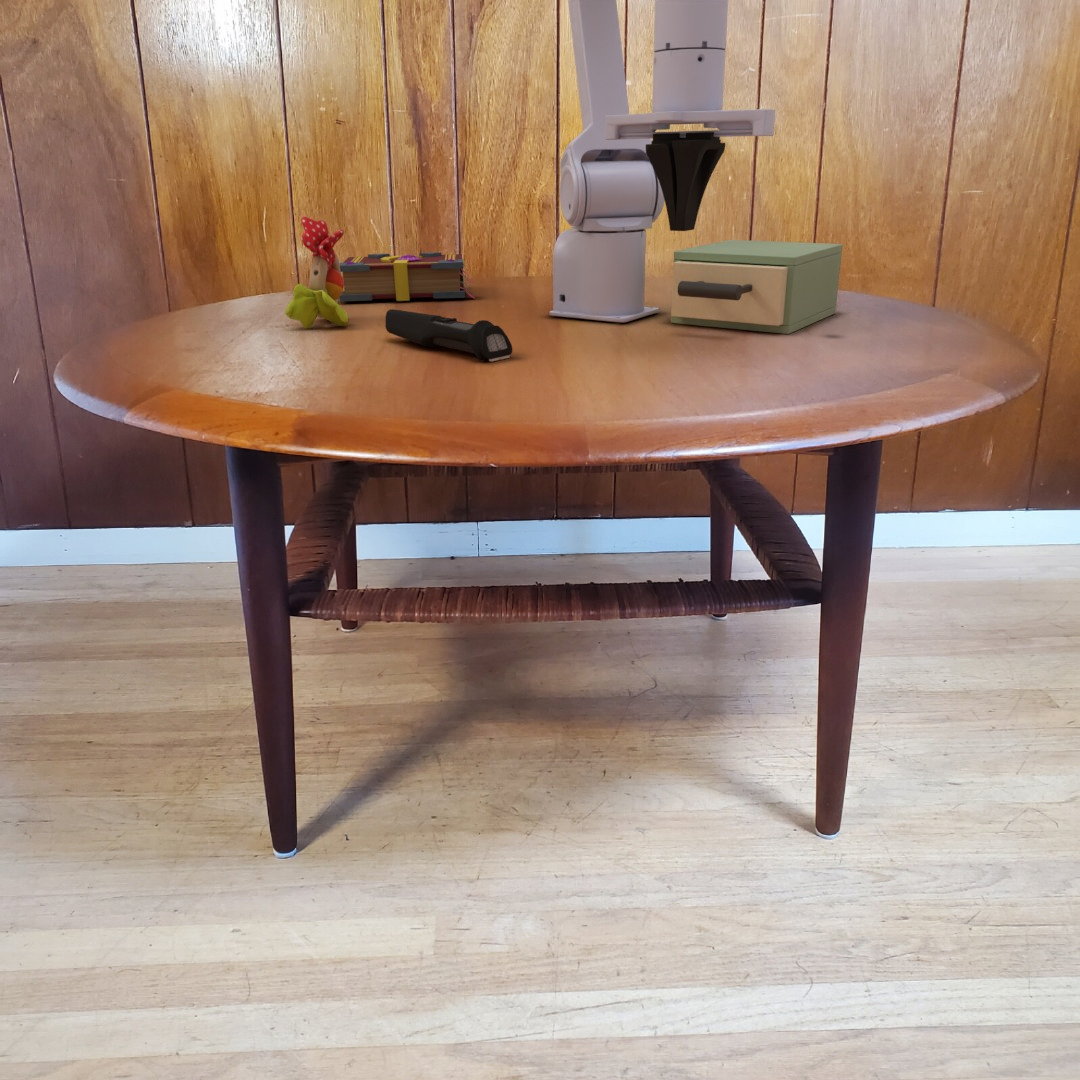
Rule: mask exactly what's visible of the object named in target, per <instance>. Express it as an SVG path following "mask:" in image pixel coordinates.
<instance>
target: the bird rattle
mask: <svg viewBox="0 0 1080 1080" xmlns="http://www.w3.org/2000/svg"><path fill="white" fill-rule="evenodd" d="M300 222H301V224H302V228H303V231H304V232H303V234H302V235H301V236H300V240H301V242H302V245H303V246H304V247H305V248H307V250H309V252H311V253H312V255H311V265H310V270H309V271H310V272H309V277H308V279H309V280H308V287H307V286H305V285H304V284H302V283H298V284H297V285H295V286H294V288H293V290H292V291H293V292H292V299H291V301H290V302H289V303H288V305H286V308H285V310H284V314H285V315H286V317H288V318H289V319H291V320H293V321H300V323H301V325H302V327H303V328H304V329H309V328H311V327H312V326H313V324H314V323H315V322H316V321H315V320H316V319H317V318H320V319H323V320H326V321H329V322H331V323H333V324H335V325H336V326H339V327H345V326H347V325H348V323H349V314H348V313H347V311H346V310H345V309H344V308H343V307H342V306H341V305H340V304H338V303H339V300H340V296H341V294H342V292H343V291H344V281H343V275H342V272H340V264H339V263H340V260H339V257H338V254H337V252H336V251H335V249H334V248H335V245H336V244H337V243H338V242H339V241H340V240H341V239H342V237H343V236H344V234H345V231H344V230H343V229H341V228H340V229H337V231H335V232H334V233H332V234H331V235H330V232H329V228H328V224H327V222H326V221H325V220H322V219H321V220H315V219H312V218H309V217H307V216H302V217H301V219H300Z"/></svg>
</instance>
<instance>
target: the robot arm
mask: <svg viewBox="0 0 1080 1080" xmlns="http://www.w3.org/2000/svg"><path fill="white" fill-rule="evenodd" d="M567 3H568V12H569V21H570V29H571V38H572V46H573V47H572V48H573V56H574V57H573V58H574V65H575V74H576V81H577V89H578V100H579V107H580V116H581V117H580V118H581V122H582V131H581V132H580V133H579V134H578V135H577V136H576V137H575V138H573V139H572V140H571V141H570V142H569V143H568V144H567V146H566V147H565V149H564V150H563V152H562V155H561V158H560V161H559V171H560V182H559V183H560V184H559V200H560V201H559V202H560V209H561V213H562V216H563V218H564V220H565V221H566V222H567V224H568V225H569V226H570V227H571V228H568V229H565V230H563V231H562V232H560V234H559V235H558V237H557V239H556V241H555V244H554V247H553V251H552V252H553V253H552V296H553V297H552V301H553V302H552V306H553V310H550V311H549V316H551V317H561V318H572V319H579V320H580V319H582V320H590V321H591V320H593V321H601V322H602V321H603V322H610V323H611V322H612V323H628V322H632V321H634V320H637V319H640V318H644V317H647V316H651V315H653V314H657V313H660V308H659V307H654V306H645V292H646V291H645V287H646V254H647V253H646V250H647V248H646V247H647V229H651V230H652V229H653V223H655V222H656V221H657V220H658V218H659V216H660V215H661V213H662V211H663V209H664V206H665V208H666V213H667V218H668V225H669V231H671V232H687V231H693V230H695V228H696V224H697V223H696V222H697V218H698V215H699V210H700V207H701V203H702V201H703V197H704V194H705V192H706V189H707V185H708V184H709V182H710V180H711V177H712V175H713V173H714V171H715V169H716V167H717V165H718V163H719V161H720V160H721V158H722V156H723V154H724V152H725V149H726V142H722V140H721V138H726V137H728V138H729V137H731V138H732V137H773V136H774V134H775V122H776V109H773V108H772V109H771V108H757V109H756V108H755V109H753V108H752V109H724V110H723V106H724V105H723V104H724V89H725V88H724V87H725V69H726V68H725V67H726V49H727V33H728V31H727V30H728V16H729V14H728V13H729V0H654V29H653V30H654V31H653V35H654V37H653V39H654V40H653V63H652V64H653V65H652V66H653V67H652V100H651V101H652V103H651V104H652V105H651V112H646V113H630V108H629V99H628V91H627V90H628V89H627V82H626V81H627V80H626V72H625V65H624V56H623V55H624V54H623V49H622V48H623V47H622V38H621V29H620V22H619V21H620V20H619V12H618V3H617V0H567ZM671 125H703V128H704V129H711V130H685V131H684V130H682V131H681V130H679V131H665V130H670V129H671ZM712 129H713V130H712ZM714 129H715V130H714ZM659 130H660V131H659ZM662 130H664V131H662Z"/></svg>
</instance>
